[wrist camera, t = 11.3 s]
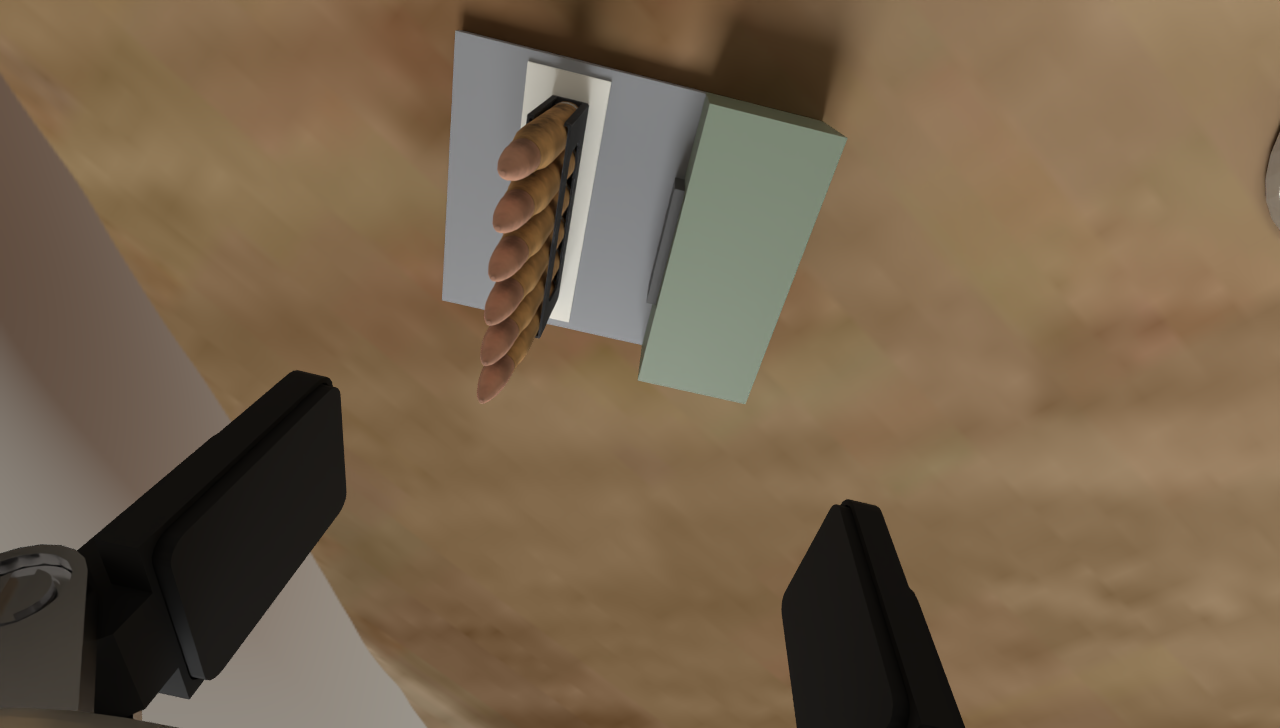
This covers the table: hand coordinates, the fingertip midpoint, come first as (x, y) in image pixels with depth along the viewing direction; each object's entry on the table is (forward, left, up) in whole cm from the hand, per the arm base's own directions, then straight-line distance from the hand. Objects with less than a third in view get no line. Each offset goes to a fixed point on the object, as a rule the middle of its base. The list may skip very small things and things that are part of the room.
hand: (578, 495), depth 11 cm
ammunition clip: (+4, +2, -22) cm, 23 cm away
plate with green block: (+1, +2, -23) cm, 23 cm away
